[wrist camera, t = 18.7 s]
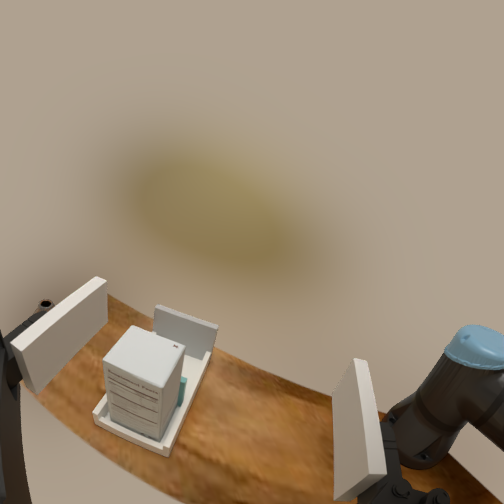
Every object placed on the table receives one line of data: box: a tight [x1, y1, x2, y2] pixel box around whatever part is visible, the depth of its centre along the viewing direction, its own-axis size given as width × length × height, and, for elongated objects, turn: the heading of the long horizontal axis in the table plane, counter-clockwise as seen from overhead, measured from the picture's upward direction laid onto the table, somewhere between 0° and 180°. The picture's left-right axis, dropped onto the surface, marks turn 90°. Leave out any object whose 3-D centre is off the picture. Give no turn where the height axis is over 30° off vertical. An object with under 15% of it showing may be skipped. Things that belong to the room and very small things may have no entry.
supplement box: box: [102, 325, 186, 443], centre depth 31 cm, size 7×7×13 cm
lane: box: [92, 304, 219, 457], centre depth 38 cm, size 21×11×8 cm, turn 170°
